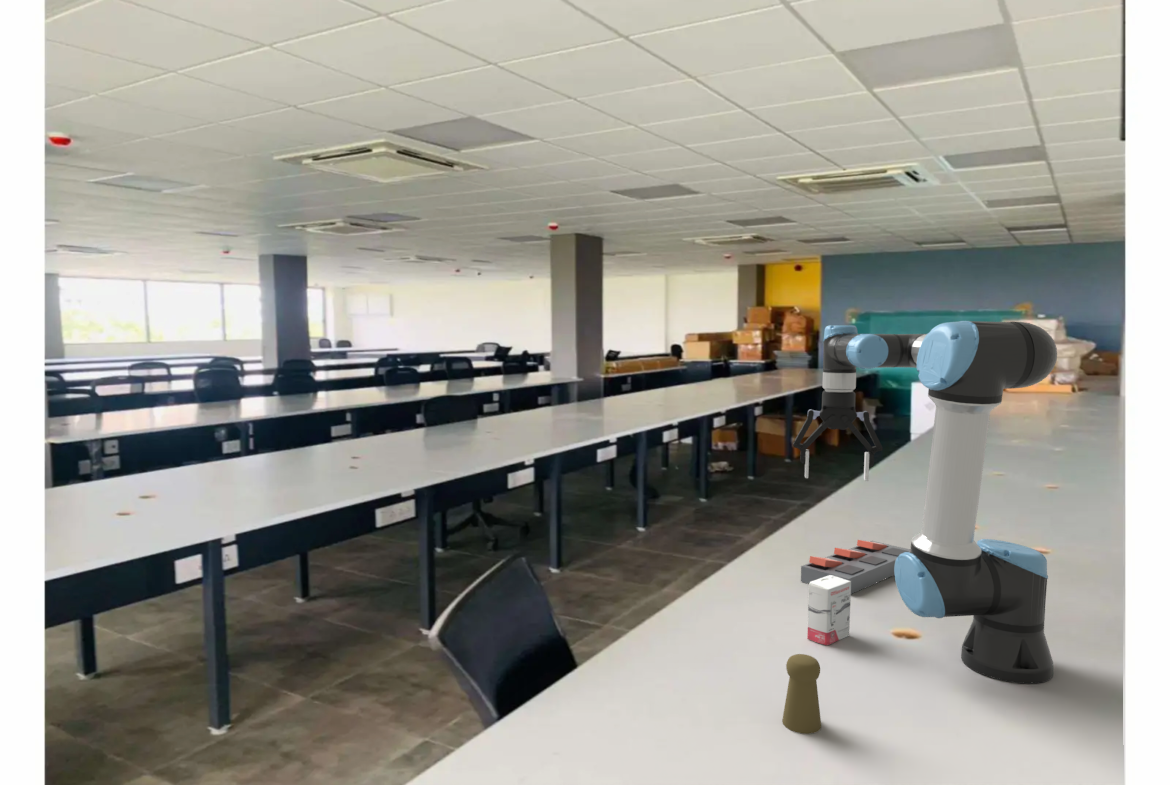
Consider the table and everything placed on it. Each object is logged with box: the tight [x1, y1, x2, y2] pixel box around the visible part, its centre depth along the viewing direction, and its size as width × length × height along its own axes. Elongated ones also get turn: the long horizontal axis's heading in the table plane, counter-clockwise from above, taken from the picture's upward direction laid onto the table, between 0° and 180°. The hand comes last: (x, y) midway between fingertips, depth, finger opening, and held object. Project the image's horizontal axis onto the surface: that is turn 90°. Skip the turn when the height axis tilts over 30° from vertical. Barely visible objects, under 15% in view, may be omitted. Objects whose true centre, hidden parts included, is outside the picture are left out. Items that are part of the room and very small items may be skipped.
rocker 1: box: [808, 555, 842, 567], centre depth 192 cm, size 4×8×2 cm, turn 131°
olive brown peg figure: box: [781, 653, 822, 735], centre depth 122 cm, size 6×6×11 cm
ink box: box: [807, 575, 852, 646], centre depth 156 cm, size 9×5×12 cm, turn 129°
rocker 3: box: [856, 539, 887, 550], centre depth 207 cm, size 4×8×2 cm, turn 131°
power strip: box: [800, 540, 911, 595], centre depth 200 cm, size 13×44×4 cm, turn 131°
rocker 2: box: [833, 547, 866, 558], centre depth 200 cm, size 4×8×2 cm, turn 131°
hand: (836, 478), depth 183 cm, fingers open, 13 cm apart
